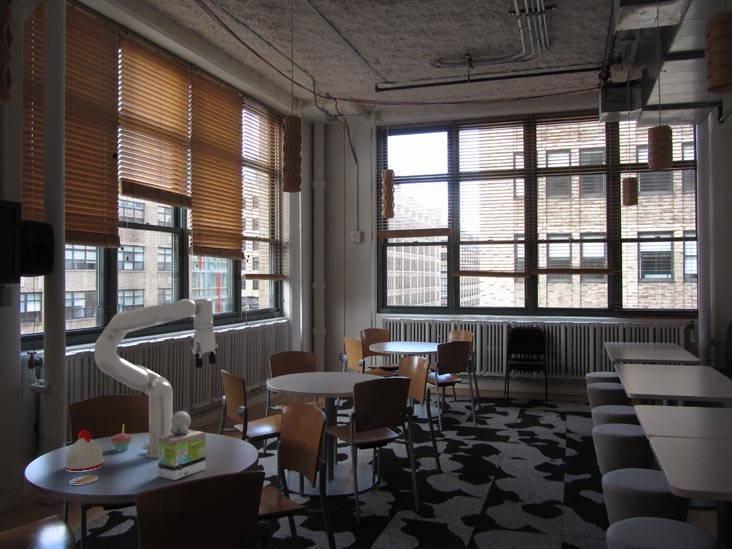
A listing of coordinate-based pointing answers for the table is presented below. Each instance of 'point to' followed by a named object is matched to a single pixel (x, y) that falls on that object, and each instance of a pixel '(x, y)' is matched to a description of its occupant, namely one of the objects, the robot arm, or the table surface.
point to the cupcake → (121, 440)
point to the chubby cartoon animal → (180, 423)
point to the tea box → (181, 454)
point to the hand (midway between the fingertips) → (205, 365)
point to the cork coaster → (86, 479)
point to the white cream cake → (84, 454)
